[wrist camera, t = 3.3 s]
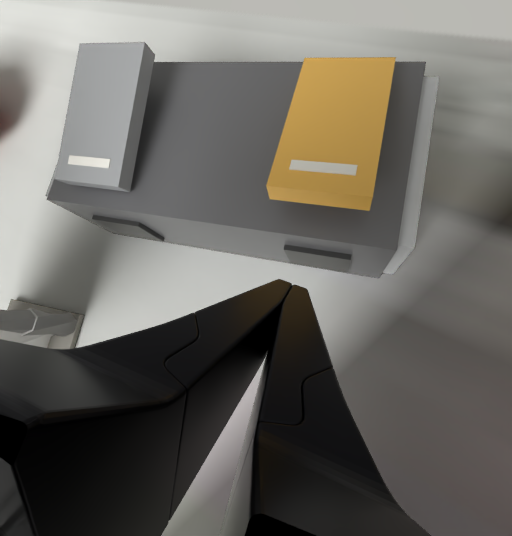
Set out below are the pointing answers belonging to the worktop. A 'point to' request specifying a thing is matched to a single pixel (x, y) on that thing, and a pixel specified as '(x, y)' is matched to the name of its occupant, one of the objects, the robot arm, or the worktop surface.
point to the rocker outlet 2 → (333, 133)
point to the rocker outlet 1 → (105, 115)
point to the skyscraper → (39, 325)
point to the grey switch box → (259, 171)
